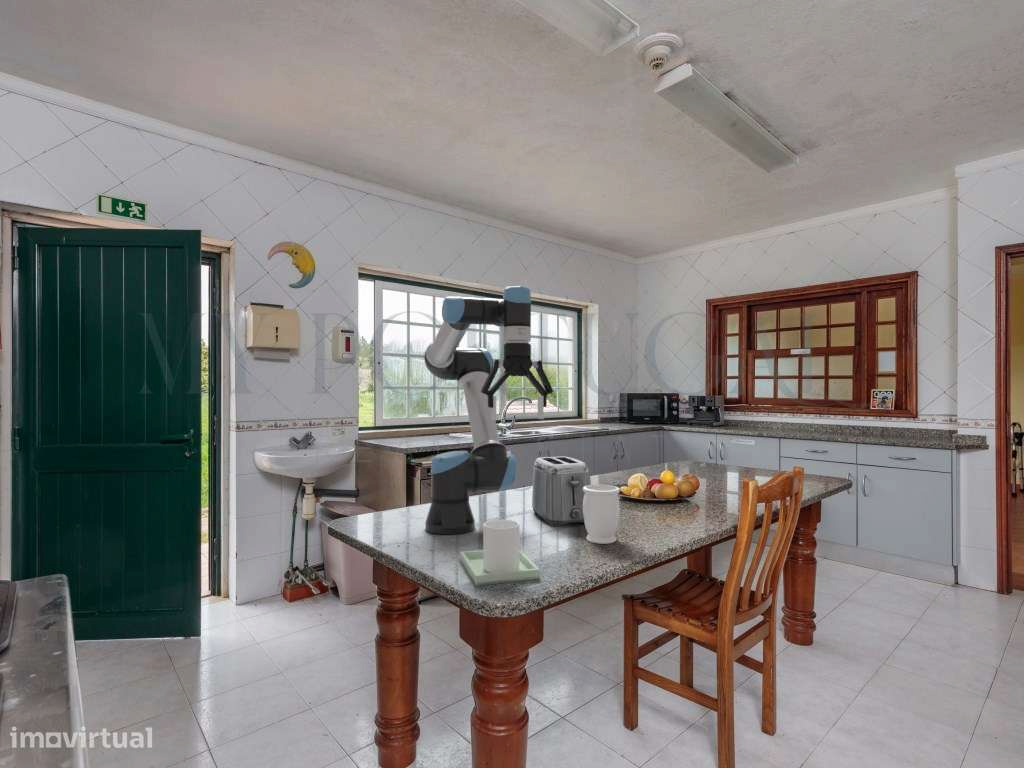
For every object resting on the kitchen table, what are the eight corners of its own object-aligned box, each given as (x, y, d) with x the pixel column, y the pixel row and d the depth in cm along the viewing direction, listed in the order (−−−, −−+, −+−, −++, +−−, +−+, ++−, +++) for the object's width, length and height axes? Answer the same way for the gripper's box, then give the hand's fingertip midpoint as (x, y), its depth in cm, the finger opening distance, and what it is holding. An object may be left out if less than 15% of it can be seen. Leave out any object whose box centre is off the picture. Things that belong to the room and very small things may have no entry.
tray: (460, 560, 137) (460, 551, 137) (516, 555, 141) (516, 546, 141) (475, 585, 120) (475, 576, 120) (540, 578, 124) (540, 569, 124)
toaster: (549, 529, 166) (549, 467, 166) (524, 508, 195) (524, 455, 195) (600, 526, 170) (600, 465, 170) (569, 505, 198) (569, 453, 198)
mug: (504, 557, 138) (504, 514, 138) (525, 572, 127) (525, 526, 127) (472, 562, 134) (472, 518, 134) (492, 577, 123) (491, 530, 123)
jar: (625, 544, 150) (625, 490, 150) (589, 546, 148) (589, 491, 148) (612, 534, 161) (612, 483, 161) (578, 535, 159) (578, 484, 159)
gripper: (476, 340, 143) (476, 421, 143) (564, 342, 151) (564, 419, 151) (470, 342, 151) (470, 419, 151) (554, 344, 158) (554, 417, 158)
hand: (517, 419), depth 151 cm, fingers open, 13 cm apart
